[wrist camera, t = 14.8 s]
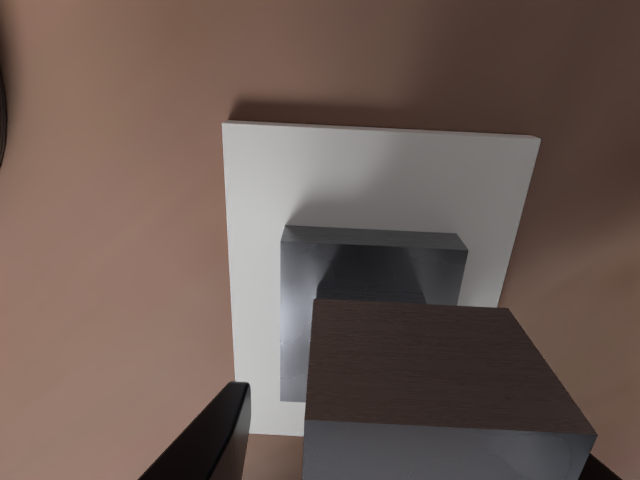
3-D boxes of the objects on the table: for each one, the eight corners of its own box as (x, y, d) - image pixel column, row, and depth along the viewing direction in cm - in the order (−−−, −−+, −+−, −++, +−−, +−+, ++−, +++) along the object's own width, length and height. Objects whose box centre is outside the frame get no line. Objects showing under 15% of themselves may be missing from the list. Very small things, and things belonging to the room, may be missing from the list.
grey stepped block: (422, 407, 13) (513, 753, 6) (283, 400, 13) (236, 738, 6) (463, 195, 10) (699, 440, 4) (285, 187, 10) (203, 415, 4)
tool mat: (456, 432, 14) (460, 444, 13) (240, 420, 14) (237, 432, 13) (531, 135, 10) (541, 139, 9) (227, 119, 10) (221, 123, 9)
